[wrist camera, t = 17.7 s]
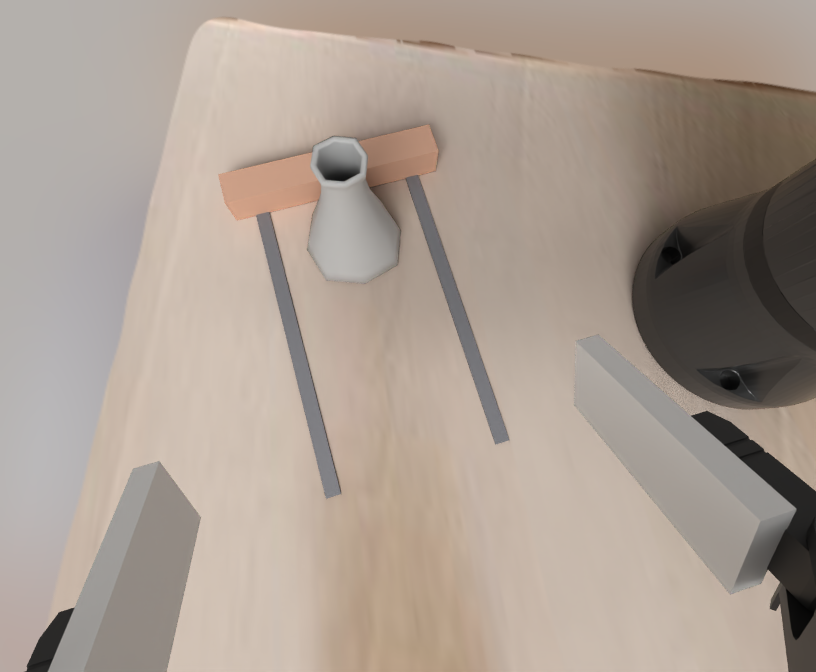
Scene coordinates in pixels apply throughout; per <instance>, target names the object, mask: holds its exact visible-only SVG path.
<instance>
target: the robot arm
mask: <svg viewBox="0 0 816 672" xmlns="http://www.w3.org/2000/svg"><path fill="white" fill-rule="evenodd" d="M633 306H634V313H635V318H636V322H637V325H638V328H639V331H640V333H641V336H642V338H643V340H644V342H645V344H646V346H647V348H648V349H649V351H650V352H651V354H652V356H653V357H654V358H655V360H656V361H657V362H658V364H659V365H660V366H661V367H662V368H663V369H664V370H665V371H666V372H667V374H668V375H669V376H671V377H672V378H673V379H674V380H675V381H676V382H678V383H679V384H680V385H681V386H683V387H684V388H686V389H687V390H689V391H690V392H692V393H694V394H695V395H697V396H699V397H701V398H703V399H705V400H708V401H710V402H713V403H716V404H718V405H722V406H726V407H731V408H737V409H765V408H776V407H785V406H791V405H795V404H799V403H802V402H806V401H809V400H811V399H814V398H816V159H815V160H813V161H812V162H810V163H808V164H807V165H805V166H804V167H802V168H801V169H799V170H798V171H796V172H795V173H793V174H792V175H790V176H789V177H787V178H786V179H784V180H783V181H781V182H780V183H778V184H777V185H775V186H774V187H772V188H771V189H769V190H766V191H762V192H759V193H755V194H752V195H748V196H745V197H742V198H738V199H735V200H731V201H728V202H724V203H721V204H717V205H714V206H711V207H707V208H704V209H701V210H699V211H696V212H694V213H692V214H690V215H688V216H686V217H685V218H683V219H682V220H680V221H679V222H677V223H676V224H675V225H673V226H672V227H671V228H669V229H668V230H667V231H665V232H664V233H663V234H661V235H660V236H659V237H658V238H657V239H656V240H655V241H654V242H653V243H652V244H651V245H650V246H649V248H648V249H647V250H646V252H645V253H644V255H643V257H642V259H641V261H640V263H639V265H638V268H637V271H636V275H635V279H634V285H633ZM574 406H575V407H576V408H577V409H578V410H579V412H580V413H581V414H582V415H583V416H584V418H585V419H586V420H587V421H588V423H589V424H590V425H591V426H592V427H593V429H594V430H595V431H596V432H597V433H598V435H599V436H600V437H601V438H602V440H603V441H604V442H605V443H606V444H607V446H608V447H609V448H610V449H611V450H612V452H613V453H614V454H615V455H616V457H617V458H618V459H619V460H620V461H621V463H622V464H623V465H624V466H625V467H626V469H627V470H628V471H629V472H630V473H631V475H632V476H633V477H634V478H635V480H636V481H637V482H638V483H639V484H640V486H641V487H642V488H643V489H644V490H645V492H646V493H647V494H648V495H649V497H650V498H651V499H652V500H653V501H654V503H655V504H656V505H657V506H658V507H659V509H660V510H661V511H662V512H663V514H664V515H665V516H666V517H667V518H668V520H669V521H670V522H671V523H672V524H673V526H674V527H675V528H676V529H677V531H678V532H679V533H680V534H681V535H682V537H683V538H684V539H685V540H686V541H687V543H688V544H689V545H690V546H691V548H692V549H693V550H694V551H695V552H696V554H697V555H698V556H699V557H700V558H701V560H702V561H703V562H704V563H705V565H706V566H707V567H708V568H709V569H710V571H711V572H712V573H713V574H714V575H715V577H716V578H717V579H718V580H719V582H720V583H721V584H722V585H723V586H724V588H725V589H726V590H727V591H728V592H729V594H733V593H735V592H738V591H741V590H744V589H747V588H750V587H753V586H756V585H759V584H761V583H762V580H763V578H764V576H765V574H766V572H767V570H769V571H770V572H771V573H772V574H773V575H774V576H775V577H776V578H777V579H778V580H779V581H780V584H779V586H778V587H777V589H776V591H775V593H774V595H773V597H772V599H771V604H770V609H772V610H775V611H776V610H777V608H778V606H779V604H780V606H781V614H782V622H783V630H784V638H785V646H786V654H787V662H788V670H789V672H816V491H815V490H813V489H812V488H811V487H810V486H809V485H807V484H806V483H805V482H804V481H802V480H801V479H800V478H799V477H797V476H796V475H795V474H794V473H793V472H791V471H790V470H789V469H788V468H786V467H785V466H784V465H783V464H781V463H780V462H779V461H778V460H777V459H775V458H774V457H773V456H772V455H770V454H769V453H768V452H767V453H766V452H765V451H764V449H763V448H762V447H761V446H759V445H758V444H757V443H756V442H754V441H753V440H750V439H749V437H748V436H747V435H746V434H745V433H743V432H742V431H741V430H740V429H738V428H737V427H736V426H735V425H733V424H732V423H731V422H730V421H727V420H725V419H723V418H721V417H719V416H717V415H715V414H712V413H710V412H708V411H705V412H702V413H699V414H695V415H692V416H690V415H689V414H688V413H687V412H686V411H685V410H683V409H682V408H681V407H680V406H679V405H678V404H677V403H676V402H674V401H673V400H672V399H671V398H670V397H669V396H668V395H666V394H665V393H664V392H663V391H662V390H661V389H660V388H658V387H657V386H656V385H655V384H654V383H653V382H652V381H651V380H649V379H648V378H647V377H646V376H645V375H644V374H643V373H641V372H640V371H639V370H638V369H637V368H636V367H635V366H633V365H632V364H631V363H630V362H629V361H628V360H627V359H625V358H624V357H623V356H622V355H621V354H620V353H619V352H618V351H616V350H615V349H614V348H613V347H612V346H611V345H610V344H608V343H607V342H606V341H605V340H604V339H603V338H602V337H600V336H599V335H595V336H592V337H588V338H585V339H581V340H578V341H576V353H575V393H574ZM200 519H201V517H200V515H199V514H198V513H197V511H196V510H195V509H194V507H193V506H192V505H191V503H190V502H189V501H188V499H187V498H186V497H185V495H184V494H183V492H182V491H181V490H180V488H179V487H178V486H177V484H176V483H175V482H174V480H173V479H172V478H171V476H170V475H169V473H168V472H167V471H166V469H165V468H164V467H163V465H162V464H161V463H160V461H158V462H155V463H151V464H148V465H144V466H141V467H138V468H134V469H133V470H132V473H131V475H130V477H129V480H128V482H127V485H126V487H125V489H124V492H123V494H122V496H121V499H120V501H119V504H118V506H117V508H116V511H115V513H114V515H113V518H112V520H111V523H110V525H109V527H108V530H107V532H106V534H105V537H104V539H103V542H102V544H101V546H100V549H99V551H98V554H97V556H96V558H95V561H94V563H93V565H92V568H91V570H90V573H89V575H88V577H87V580H86V582H85V584H84V587H83V589H82V592H81V594H80V596H79V599H78V601H77V603H76V606H75V608H71V609H68V610H65V611H62V612H59V613H58V615H57V616H56V617H55V619H54V620H53V621H52V623H51V624H50V625H49V627H48V628H47V629H46V631H45V632H44V633H43V635H42V636H41V637H40V639H39V641H38V643H37V645H36V647H35V650H34V652H33V654H32V656H31V658H30V660H29V663H28V664H27V671H26V672H167V667H168V663H169V658H170V654H171V649H172V645H173V640H174V636H175V631H176V627H177V622H178V618H179V613H180V609H181V604H182V600H183V595H184V591H185V586H186V582H187V577H188V573H189V568H190V564H191V559H192V555H193V550H194V546H195V541H196V537H197V532H198V528H199V523H200Z"/></svg>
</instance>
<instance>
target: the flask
mask: <svg viewBox="0 0 816 672" xmlns="http://www.w3.org/2000/svg"><path fill="white" fill-rule="evenodd" d="M367 163H368V155H367V153H366V152H365V150H364V149H363V147H362V146H361V145H360V143H359V142H358V140H357V139H356V138H352V137H341V136H332V137H330V138H328V139H326V140H324V141H322V142H320V143H318V144H316V145H314V146H313V151H312V157H311V164H310V168H311V170H312V171H313V173H314V175H315V176H316V178H317V179H318V181H319V182H320V184H321V194H320V197H319V200H318V203H317V205H316V207H315V209H314V212H313V215H312V221H311V228H310V234H309V241H308V248H307V250H308V252H309V254H310V255H311V257H312V258H313V260H314V262H315V263H316V265H317V266H318V268H319V270H320V271H321V273H322V274H323V276H324V278H325V279H326V280H327V281H339V282H350V283H361V284H365V283H367V282H369V281H370V280H372V279H374V278H376V277H377V276H379V275H381V274H383V273H384V272H386V271H388V270H390V269H391V268H393V267H395V266H397V264H398V254H399V243H400V232H401V230H400V229H399V227H398V226H397V224H396V223H395V221H394V220H393V218H392V217H391V215H390V214H389V212H388V211H387V209H386V208H385V207H384V205H383V204H382V202H381V201H380V199H379V198H378V197H377V196H376V195H375V194H374V193H373V192H372V191H371V190H370V188H369V186H368V183H367V181H366V172H367Z"/></svg>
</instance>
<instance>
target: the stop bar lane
mask: <svg viewBox="0 0 816 672" xmlns="http://www.w3.org/2000/svg"><path fill="white" fill-rule="evenodd" d="M358 142H359V143H360V145H361V146H362V147H363V149H364V150H365V152H366V153H367V155H368V163H367V172H366V181H367V183H368V186H369V187H373V186H378V185H382V184H386V183H390V182H394V181H398V180H402V179H406V181H407V184H408V187H409V190H410V193H411V196H412V199H413V202H414V205H415V208H416V211H417V213H418V216H419V219H420V222H421V225H422V228H423V231H424V234H425V237H426V240H427V243H428V246H429V249H430V252H431V255H432V258H433V261H434V264H435V267H436V270H437V273H438V276H439V279H440V282H441V285H442V288H443V291H444V293H445V296H446V299H447V302H448V305H449V308H450V311H451V314H452V317H453V320H454V323H455V326H456V329H457V332H458V335H459V338H460V341H461V344H462V347H463V350H464V353H465V356H466V359H467V362H468V365H469V368H470V371H471V373H472V376H473V379H474V382H475V385H476V388H477V391H478V394H479V397H480V400H481V403H482V406H483V409H484V412H485V415H486V418H487V421H488V424H489V427H490V430H491V433H492V436H493V439H494V442H495V444H499V443H502V442H505V441H508V440H509V438H508V435H507V432H506V429H505V426H504V423H503V420H502V417H501V415H500V412H499V409H498V406H497V403H496V400H495V397H494V394H493V391H492V389H491V386H490V383H489V380H488V377H487V374H486V371H485V368H484V365H483V362H482V360H481V357H480V354H479V351H478V348H477V345H476V342H475V339H474V336H473V333H472V331H471V328H470V325H469V322H468V319H467V316H466V313H465V310H464V307H463V304H462V302H461V299H460V296H459V293H458V290H457V287H456V284H455V281H454V278H453V276H452V273H451V270H450V267H449V264H448V261H447V258H446V255H445V252H444V249H443V247H442V244H441V241H440V238H439V235H438V232H437V229H436V226H435V223H434V220H433V218H432V215H431V212H430V209H429V206H428V203H427V200H426V197H425V194H424V191H423V189H422V186H421V183H420V180H419V177H418V175H422V174H426V173H430V172H434V171H436V165H437V158H438V152H439V151H438V148H437V145H436V142H435V139H434V137H433V134H432V131H431V128H430V126H429V124H428V125H424V126H420V127H416V128H412V129H407V130H403V131H399V132H395V133H391V134H386V135H382V136H378V137H374V138H370V139H365V140H361V141H358ZM311 157H312V152H311V153H306V154H302V155H298V156H294V157H290V158H285V159H281V160H277V161H273V162H269V163H264V164H260V165H256V166H252V167H248V168H243V169H239V170H235V171H231V172H226V173H222V174H218V175H219V180H220V184H221V188H222V193H223V197H224V201H225V204H226V205H227V207H228V208H229V210H230V211H231V213H232V214H233V215H234V217H235V218H236V220H241V219H245V218H249V217H253V216H256V217H257V221H258V225H259V229H260V233H261V237H262V241H263V245H264V249H265V253H266V257H267V261H268V265H269V269H270V273H271V277H272V281H273V285H274V290H275V294H276V298H277V302H278V306H279V310H280V314H281V318H282V322H283V326H284V330H285V334H286V338H287V342H288V346H289V350H290V354H291V358H292V362H293V366H294V370H295V375H296V379H297V383H298V387H299V391H300V395H301V399H302V403H303V407H304V411H305V415H306V419H307V423H308V427H309V431H310V435H311V439H312V443H313V447H314V451H315V455H316V459H317V464H318V468H319V472H320V476H321V480H322V484H323V488H324V492H325V496H326V498H329V497H333V496H336V495H339V494H341V492H340V488H339V484H338V480H337V476H336V472H335V468H334V464H333V460H332V456H331V453H330V449H329V445H328V441H327V437H326V433H325V429H324V425H323V421H322V417H321V413H320V409H319V405H318V402H317V398H316V394H315V390H314V386H313V382H312V378H311V374H310V370H309V366H308V362H307V358H306V354H305V351H304V347H303V343H302V339H301V335H300V331H299V327H298V323H297V319H296V315H295V311H294V307H293V303H292V300H291V296H290V292H289V288H288V284H287V280H286V276H285V272H284V268H283V264H282V260H281V256H280V252H279V248H278V245H277V241H276V237H275V233H274V229H273V225H272V221H271V217H270V213H269V212H273V211H277V210H281V209H285V208H289V207H293V206H297V205H301V204H305V203H309V202H313V201H317V200H319V197H320V194H321V184H320V182H319V181H318V179H317V178H316V176H315V175H314V173H313V171H312V170H311V168H310V164H311Z"/></svg>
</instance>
